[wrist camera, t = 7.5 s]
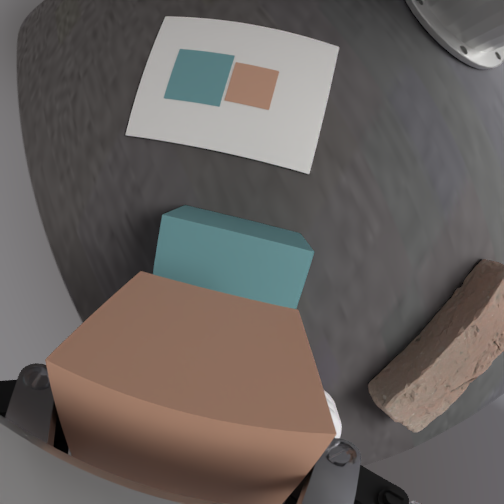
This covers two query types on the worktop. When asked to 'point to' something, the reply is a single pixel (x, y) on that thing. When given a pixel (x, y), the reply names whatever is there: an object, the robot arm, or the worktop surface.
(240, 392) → the clay block
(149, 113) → the page
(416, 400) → the brick
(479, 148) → the worktop surface
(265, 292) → the base block
